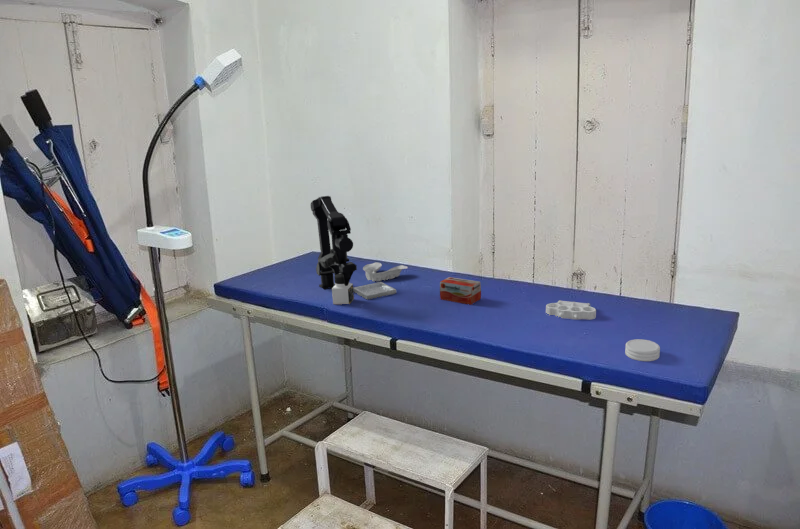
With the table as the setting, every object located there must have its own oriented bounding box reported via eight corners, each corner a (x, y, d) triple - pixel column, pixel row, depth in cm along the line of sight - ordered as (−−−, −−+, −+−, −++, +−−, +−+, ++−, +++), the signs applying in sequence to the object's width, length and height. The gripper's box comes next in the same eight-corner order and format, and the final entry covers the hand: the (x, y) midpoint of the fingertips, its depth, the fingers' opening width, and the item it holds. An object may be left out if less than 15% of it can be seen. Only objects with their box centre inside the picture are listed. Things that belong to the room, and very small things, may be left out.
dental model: (350, 279, 278) (349, 269, 277) (372, 269, 292) (372, 260, 290) (389, 285, 265) (389, 275, 264) (411, 275, 279) (410, 265, 277)
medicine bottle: (349, 304, 242) (347, 276, 239) (332, 304, 244) (330, 276, 240) (354, 299, 249) (352, 271, 246) (337, 298, 250) (335, 271, 247)
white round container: (652, 365, 177) (653, 354, 176) (619, 356, 183) (620, 346, 182) (664, 353, 184) (664, 343, 183) (632, 346, 191) (632, 336, 190)
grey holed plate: (598, 310, 224) (593, 324, 211) (550, 305, 231) (542, 318, 218) (599, 302, 223) (593, 315, 210) (550, 297, 230) (542, 309, 217)
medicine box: (481, 299, 241) (481, 281, 239) (472, 305, 235) (471, 286, 232) (449, 294, 249) (448, 276, 247) (439, 300, 243) (438, 281, 241)
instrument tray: (353, 291, 259) (352, 287, 258) (381, 285, 265) (381, 281, 265) (367, 299, 247) (366, 295, 247) (396, 293, 254) (396, 289, 253)
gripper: (312, 245, 244) (315, 281, 248) (330, 254, 228) (333, 292, 233) (337, 241, 249) (339, 276, 253) (356, 250, 234) (358, 287, 238)
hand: (342, 283), depth 244 cm, fingers open, 8 cm apart
